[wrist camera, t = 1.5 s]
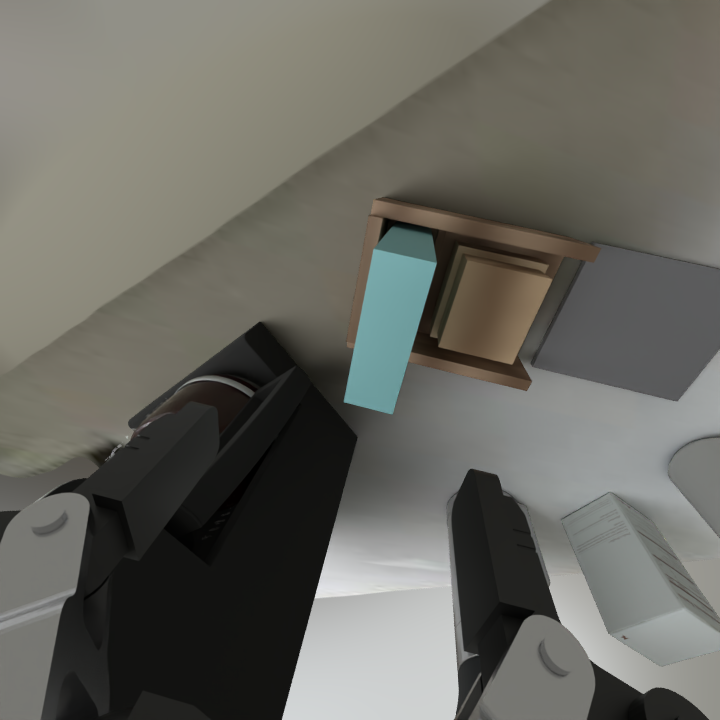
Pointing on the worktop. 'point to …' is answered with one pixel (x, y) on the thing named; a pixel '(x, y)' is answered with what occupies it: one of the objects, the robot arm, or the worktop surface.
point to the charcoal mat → (635, 323)
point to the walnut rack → (444, 236)
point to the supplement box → (641, 583)
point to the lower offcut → (478, 251)
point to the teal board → (390, 315)
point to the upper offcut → (491, 308)
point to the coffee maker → (233, 542)
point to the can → (699, 478)
